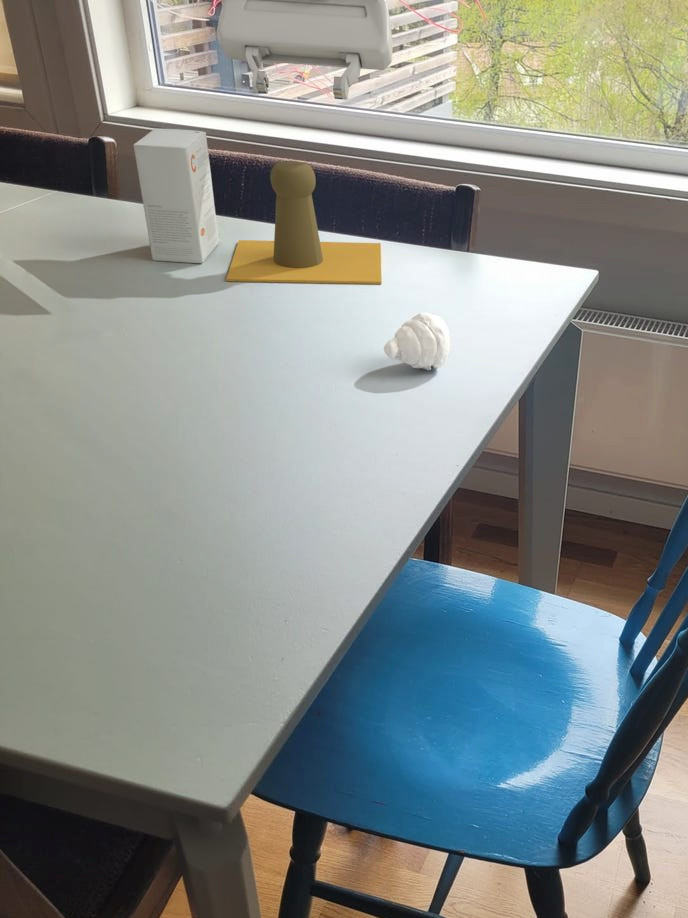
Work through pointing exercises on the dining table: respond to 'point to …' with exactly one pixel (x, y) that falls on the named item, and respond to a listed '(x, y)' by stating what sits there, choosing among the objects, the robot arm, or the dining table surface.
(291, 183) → the cork
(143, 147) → the small box
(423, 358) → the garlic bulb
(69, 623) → the dining table surface
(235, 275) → the linen cloth
